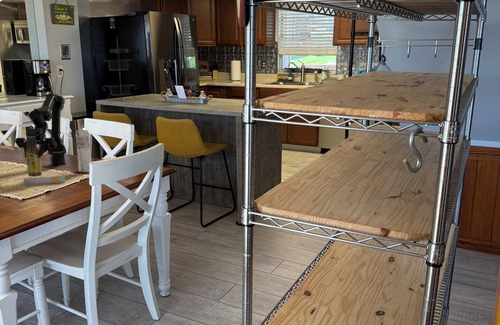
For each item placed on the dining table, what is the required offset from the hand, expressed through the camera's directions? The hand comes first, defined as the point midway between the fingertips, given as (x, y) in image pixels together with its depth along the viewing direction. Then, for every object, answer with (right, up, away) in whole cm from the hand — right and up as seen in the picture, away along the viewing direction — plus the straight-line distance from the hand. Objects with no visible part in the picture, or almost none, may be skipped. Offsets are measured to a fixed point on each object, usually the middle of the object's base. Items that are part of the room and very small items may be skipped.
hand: (32, 157), depth 216 cm
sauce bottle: (0, -9, +4) cm, 10 cm away
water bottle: (+18, -7, +23) cm, 30 cm away
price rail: (+7, -13, -1) cm, 15 cm away
